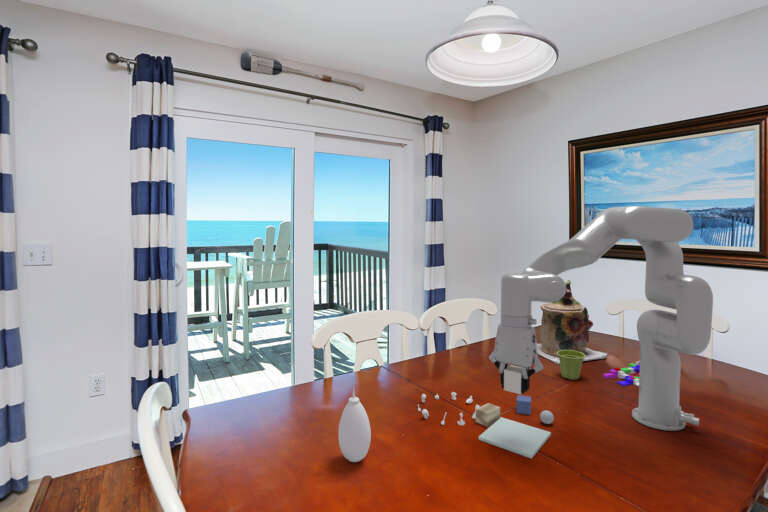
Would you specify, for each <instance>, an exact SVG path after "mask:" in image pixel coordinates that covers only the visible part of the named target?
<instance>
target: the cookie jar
mask: <svg viewBox="0 0 768 512" xmlns="http://www.w3.org/2000/svg"><path fill="white" fill-rule="evenodd" d="M565 284H566V293H565V295H564V296H563V297H562V298H561V299H560V300H558V301H556V302H551V303H547V302H545V303H543V304H541V305H540V310H541V311H542V314H541V315H542V316H541V322H540V323H541V324H540V331H539V333H540V340H541V343H537V354H538V356H541V357H543V358H545V359H547V360H549V361H551V362H553V363H555V364H557V365H560V360H559V357H558V354H557V352H558V351H560V350H573V351H578V352H581V353H583V354H585V358H584V360H583V361H582V362H585V361H587V362H588V361H594V360H603V359H605V358H607V356H608V353H607V352H602V351H598V350H593V349H590V348H589V347H587V346H588V345H589V343H590V335H589V334H590V333H589V331H590V329H592V327H593V326H594V322H593V320H590V319H589V317H590V314H588V313H589V312H588V308H587V306H584V305H582V304H581V303H580V302H579V301H578V300H576V299H575V297H574V296H573V293H572V288H571V284H572V282H571V280H570V279H568V280H567V281H566V282H565Z"/></svg>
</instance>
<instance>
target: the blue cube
mask: <svg viewBox="0 0 768 512" xmlns="http://www.w3.org/2000/svg"><path fill="white" fill-rule="evenodd" d="M531 409H532V396H527V395H522V394H518V395H516V411H515V412H516V414H520V415H521V414H522V415H527V416H528V415H529V416H531V412H532V410H531Z"/></svg>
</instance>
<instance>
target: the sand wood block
mask: <svg viewBox="0 0 768 512" xmlns="http://www.w3.org/2000/svg"><path fill="white" fill-rule="evenodd" d="M475 414H476V418H475V422H476V423H478V424H480V425H481V426H484V427H485V428H489V427H490V426H491V425H493V424H494V423H495V422H496V421H497V420H498V419H499V418H501V406H498V405H495V404H493V403H490V402H488V403H485V404H483V405H480V407H479V408H477V409H476V413H475Z"/></svg>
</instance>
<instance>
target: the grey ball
mask: <svg viewBox="0 0 768 512" xmlns="http://www.w3.org/2000/svg"><path fill="white" fill-rule="evenodd" d="M539 417H540V420H541V422H542V423H544V424H546V425H550V424H552V423H553V422H554V419H555V417H554V413H552V412H551V410H547V409H546V410H542V411H541V412H540V413H539Z"/></svg>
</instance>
